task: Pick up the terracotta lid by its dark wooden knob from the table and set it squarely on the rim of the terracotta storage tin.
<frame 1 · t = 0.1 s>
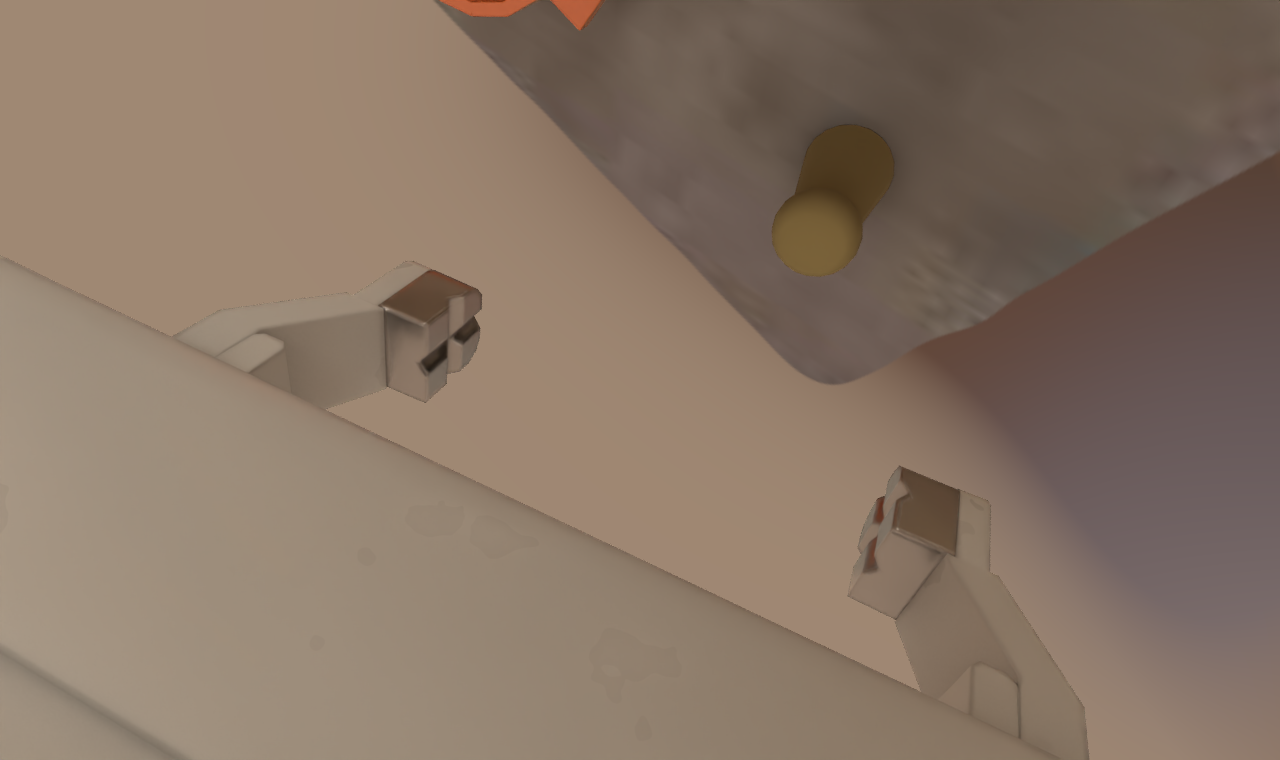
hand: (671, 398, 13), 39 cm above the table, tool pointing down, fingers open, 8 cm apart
cork: (848, 167, 49), on the table
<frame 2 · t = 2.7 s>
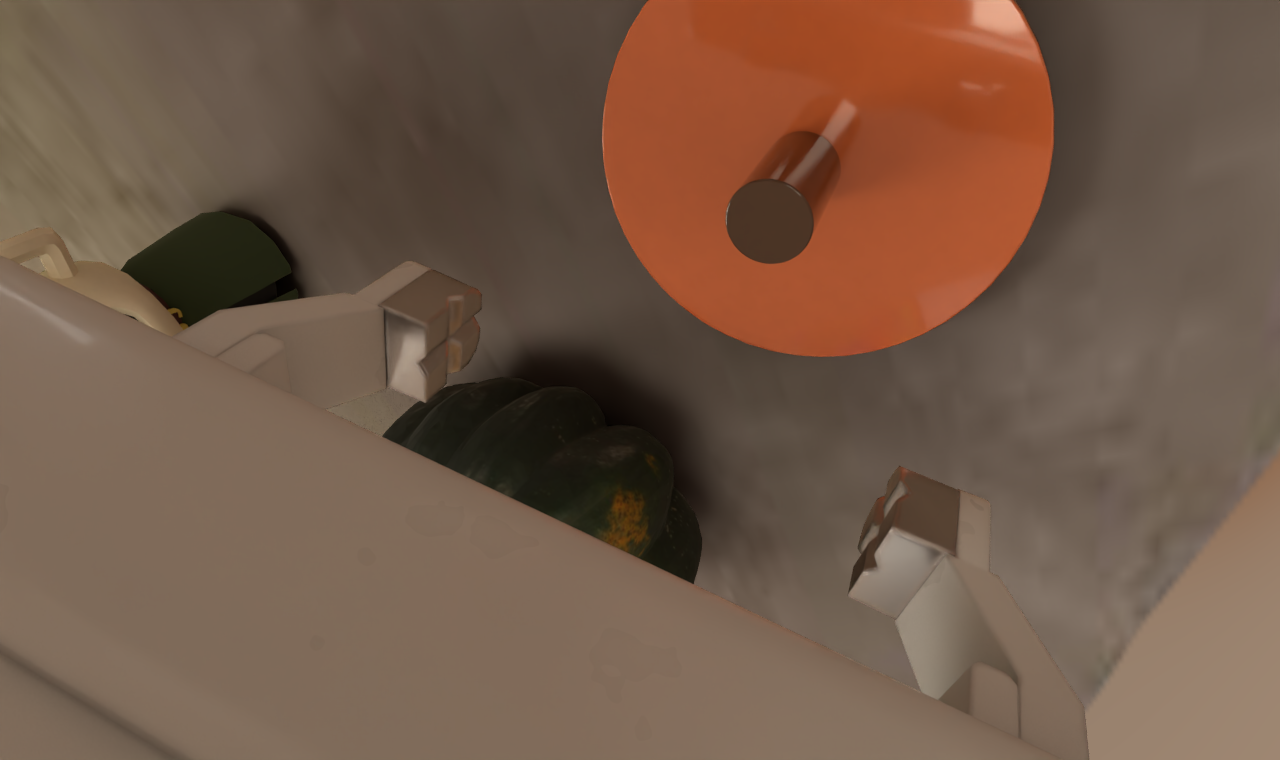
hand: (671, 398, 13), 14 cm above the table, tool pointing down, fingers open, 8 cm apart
character mug: (258, 262, 37), on the table
squash: (577, 458, 36), on the table
lid: (805, 163, 23), point 1 cm above the table
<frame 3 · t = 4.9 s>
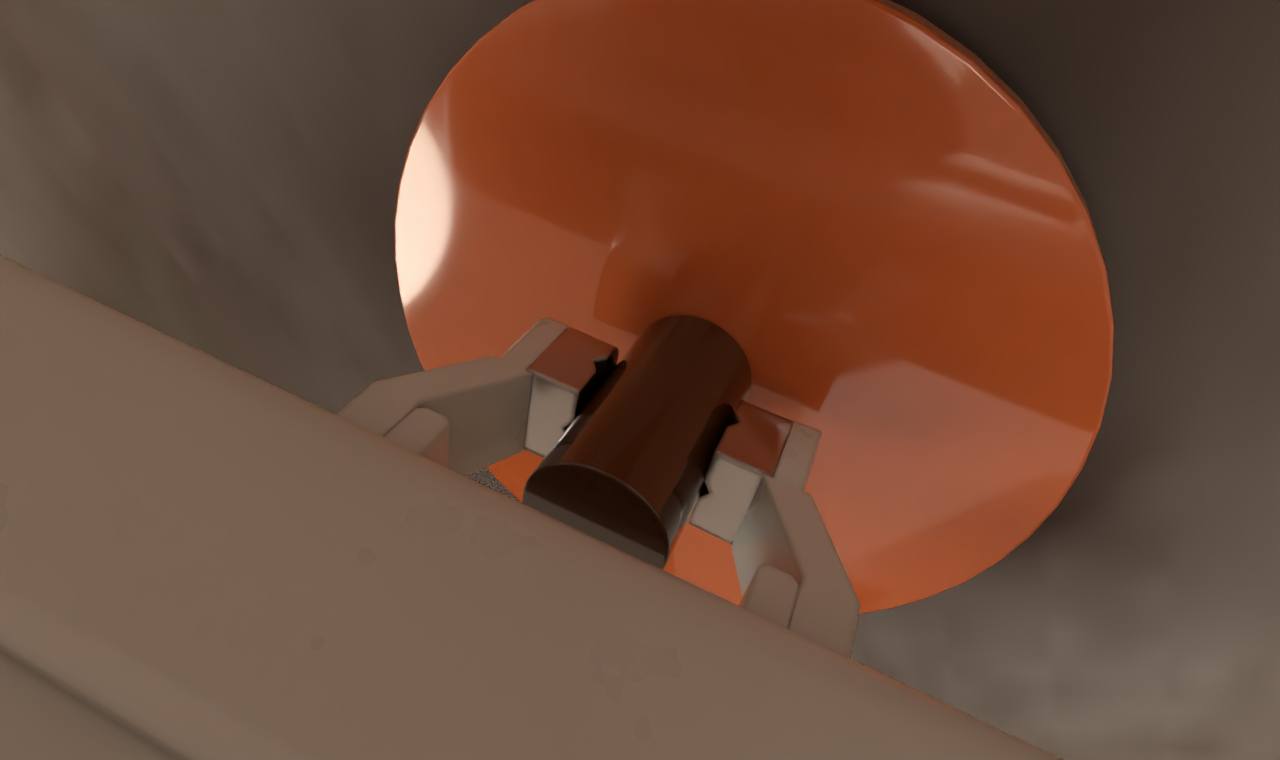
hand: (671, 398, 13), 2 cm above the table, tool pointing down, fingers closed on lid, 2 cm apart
lid: (701, 353, 14), point 1 cm above the table, touching gripper
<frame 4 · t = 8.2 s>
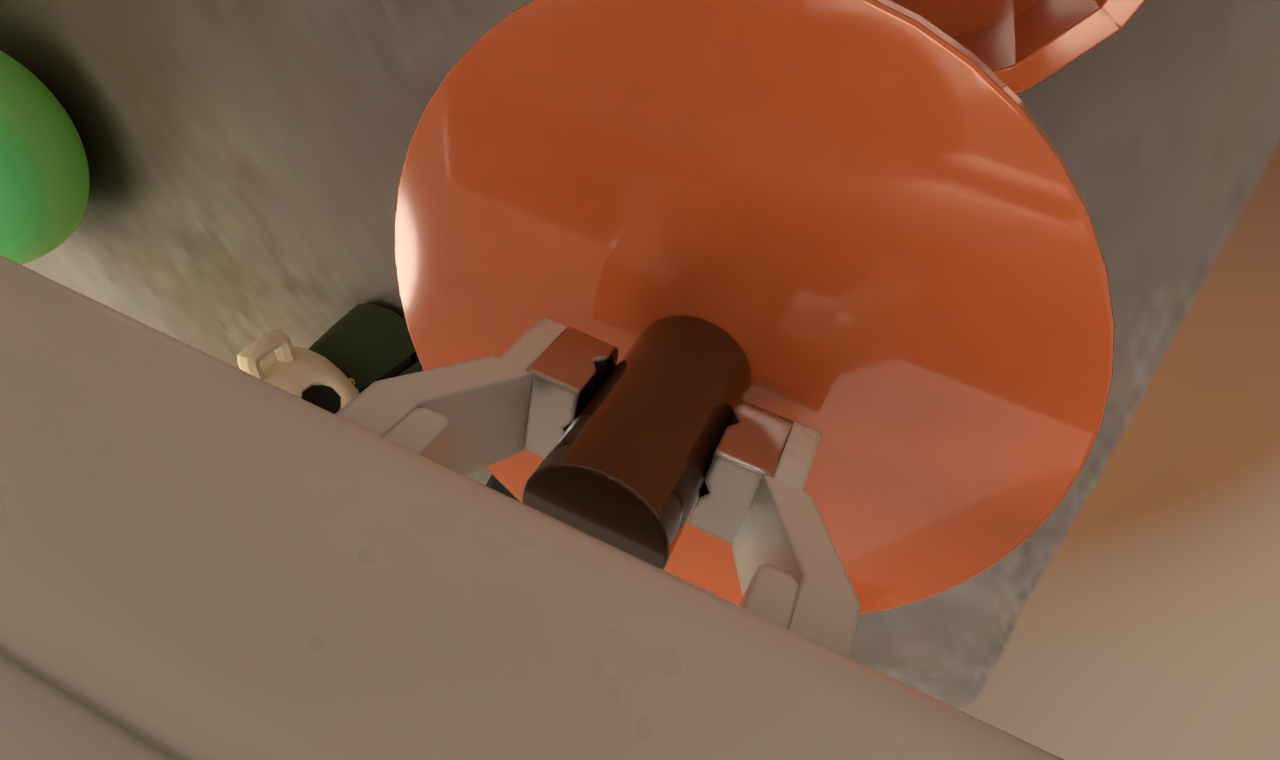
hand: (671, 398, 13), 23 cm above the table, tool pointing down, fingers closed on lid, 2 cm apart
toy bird: (44, 117, 52), on the table
character mug: (393, 337, 51), on the table
lid: (701, 353, 14), point 21 cm above the table, touching gripper
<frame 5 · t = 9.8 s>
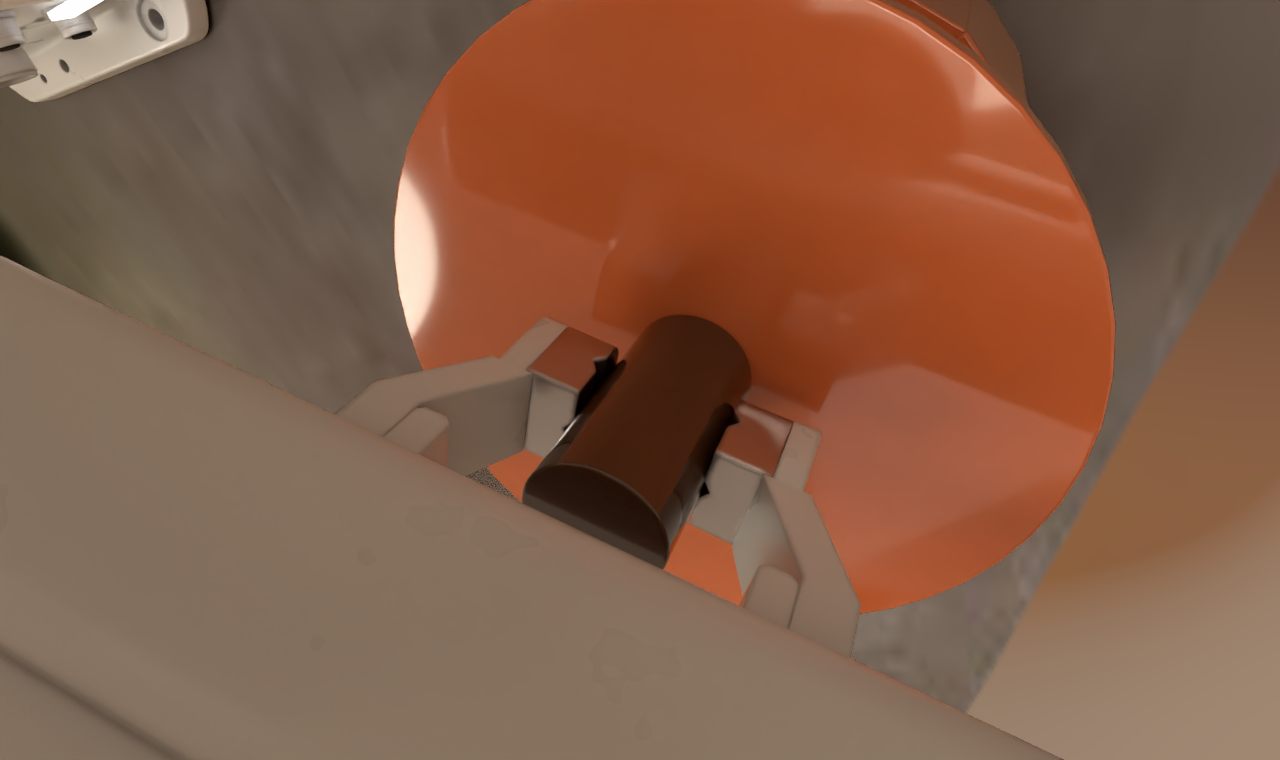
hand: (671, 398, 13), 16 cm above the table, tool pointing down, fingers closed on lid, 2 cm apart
pot: (821, 141, 25), on the table
lid: (701, 352, 14), point 14 cm above the table, touching gripper
when the fingers open (11 cm above the table, at t = 11.4 s): lid stays where it is, resting on pot.
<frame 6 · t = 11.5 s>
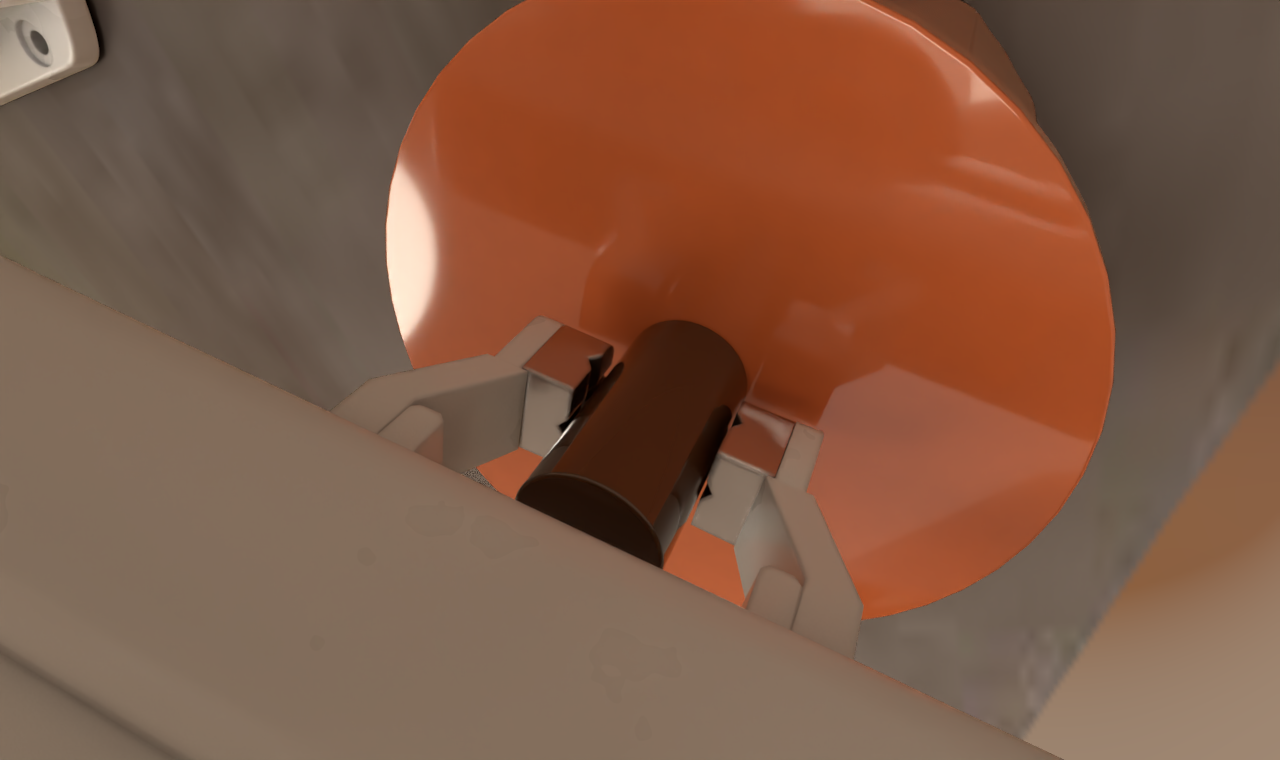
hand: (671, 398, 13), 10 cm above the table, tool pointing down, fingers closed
pot: (792, 198, 21), on the table
lid: (697, 358, 14), point 9 cm above the table, touching pot
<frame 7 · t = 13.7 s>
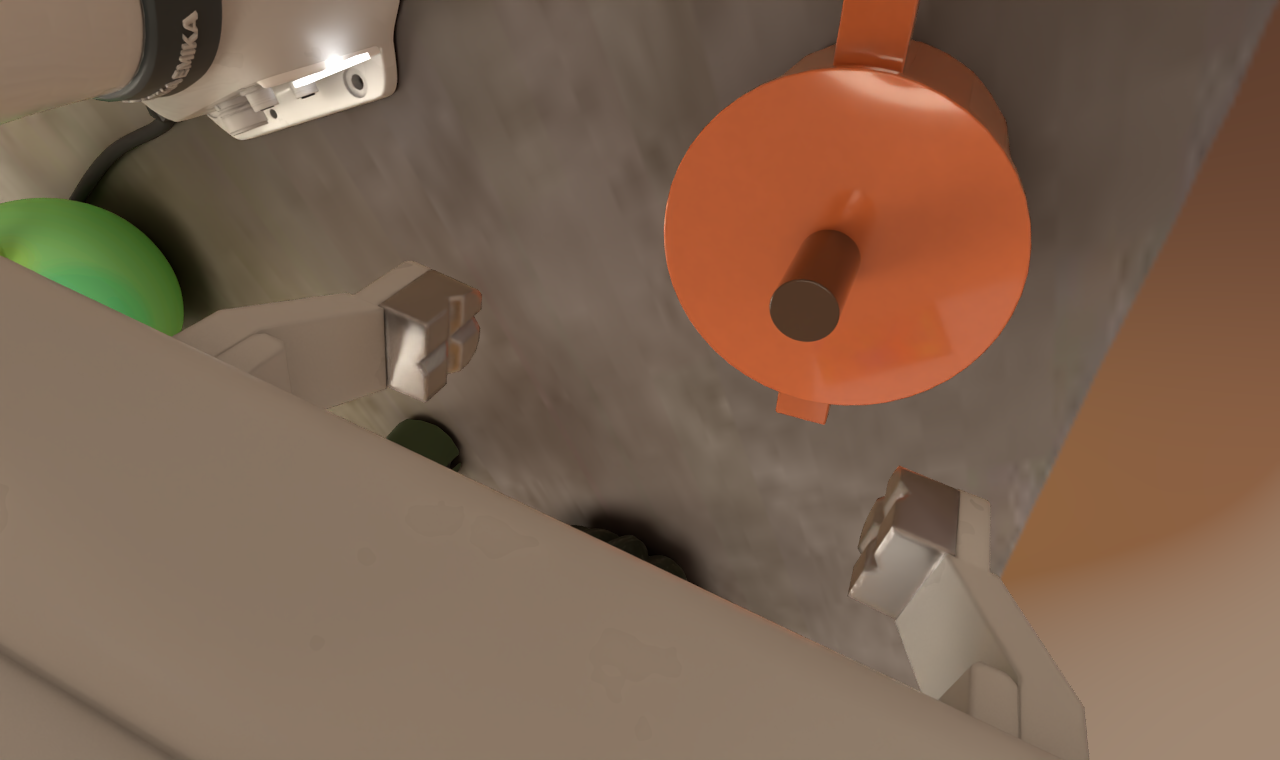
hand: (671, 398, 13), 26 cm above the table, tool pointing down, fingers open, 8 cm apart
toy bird: (143, 255, 63), on the table
character mug: (434, 442, 61), on the table
squash: (628, 565, 59), on the table
pot: (865, 177, 35), on the table
lid: (831, 252, 28), point 9 cm above the table, touching pot
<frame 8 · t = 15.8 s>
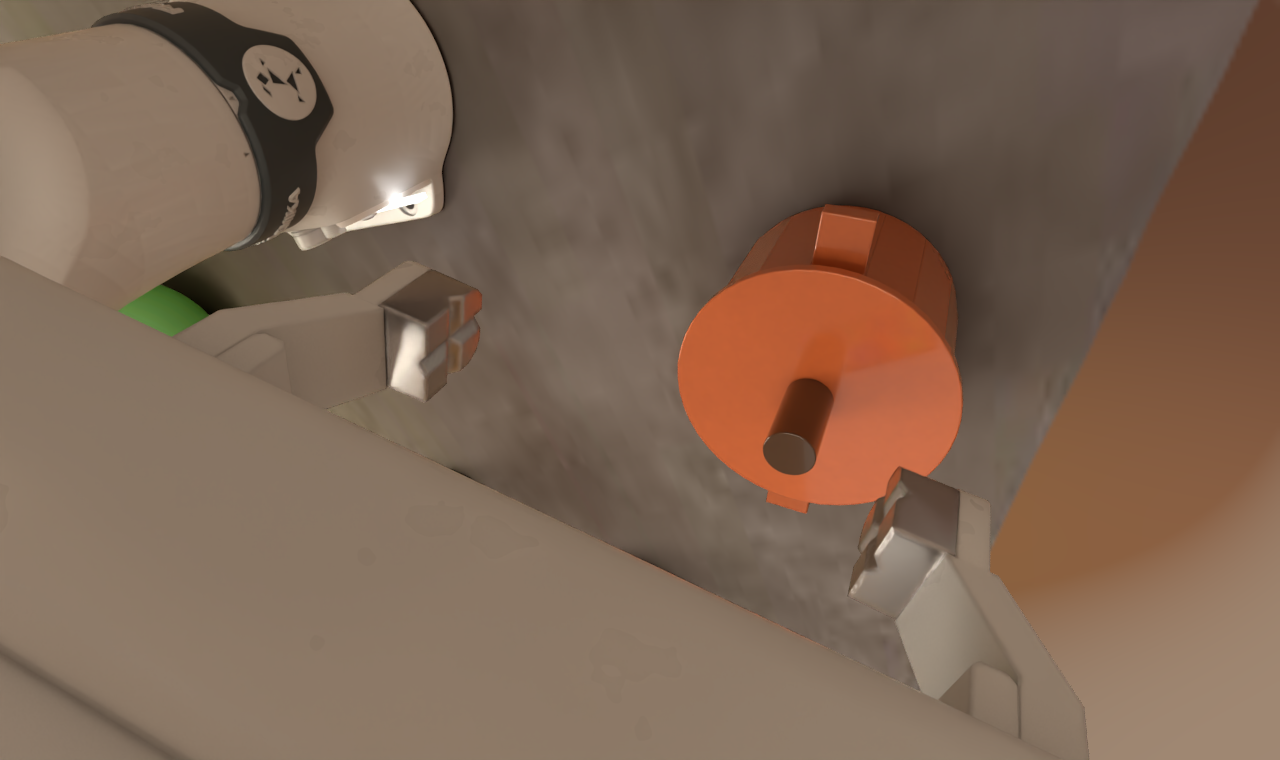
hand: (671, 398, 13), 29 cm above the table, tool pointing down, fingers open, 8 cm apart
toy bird: (195, 321, 70), on the table
pot: (840, 307, 43), on the table
lid: (811, 391, 36), point 9 cm above the table, touching pot
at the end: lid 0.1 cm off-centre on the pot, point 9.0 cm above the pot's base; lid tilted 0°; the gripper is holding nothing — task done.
